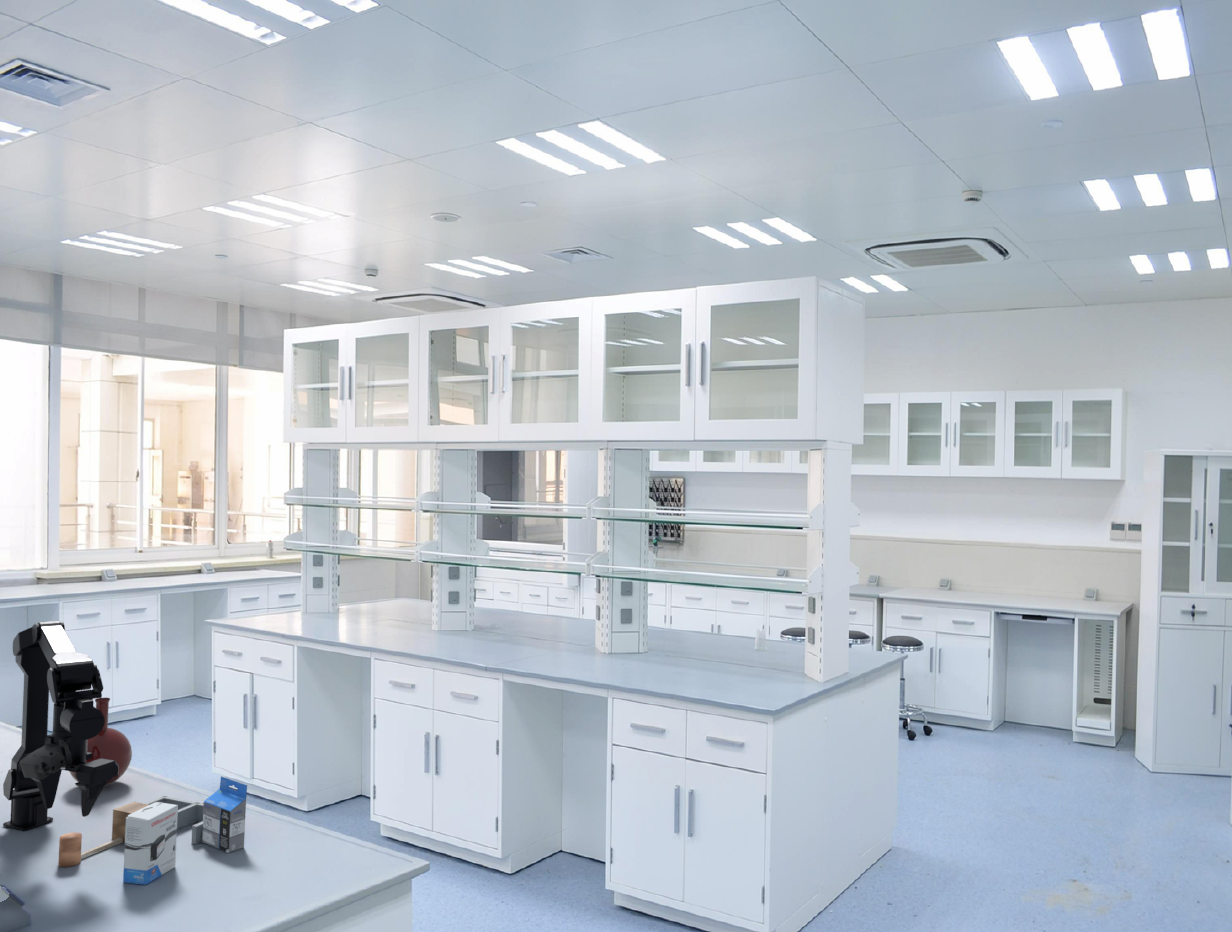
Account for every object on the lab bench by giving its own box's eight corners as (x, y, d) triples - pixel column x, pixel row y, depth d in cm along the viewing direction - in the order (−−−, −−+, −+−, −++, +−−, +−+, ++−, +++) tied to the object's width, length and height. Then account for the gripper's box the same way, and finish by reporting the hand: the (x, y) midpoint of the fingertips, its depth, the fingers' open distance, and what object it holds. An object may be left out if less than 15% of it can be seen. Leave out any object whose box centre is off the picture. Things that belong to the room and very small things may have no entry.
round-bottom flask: (111, 796, 210) (115, 707, 210) (53, 794, 210) (57, 704, 211) (141, 777, 223) (145, 693, 224) (87, 775, 224) (90, 691, 224)
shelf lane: (122, 828, 192) (123, 811, 192) (163, 812, 202) (164, 795, 202) (195, 844, 186) (196, 826, 186) (233, 826, 195) (234, 809, 195)
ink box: (145, 885, 167) (148, 819, 167) (121, 882, 168) (124, 816, 168) (177, 866, 175) (179, 803, 175) (153, 863, 176) (156, 800, 176)
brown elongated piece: (51, 864, 174) (52, 831, 174) (132, 830, 191) (134, 801, 191) (70, 868, 172) (72, 836, 172) (151, 835, 189) (152, 805, 189)
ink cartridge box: (200, 842, 186) (203, 780, 187) (218, 836, 190) (220, 775, 190) (228, 853, 182) (230, 790, 182) (245, 847, 185) (248, 784, 185)
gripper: (-8, 731, 170) (-11, 818, 169) (68, 745, 163) (65, 835, 163) (48, 717, 180) (45, 799, 180) (122, 729, 174) (119, 814, 174)
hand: (67, 811), depth 174 cm, fingers open, 9 cm apart
